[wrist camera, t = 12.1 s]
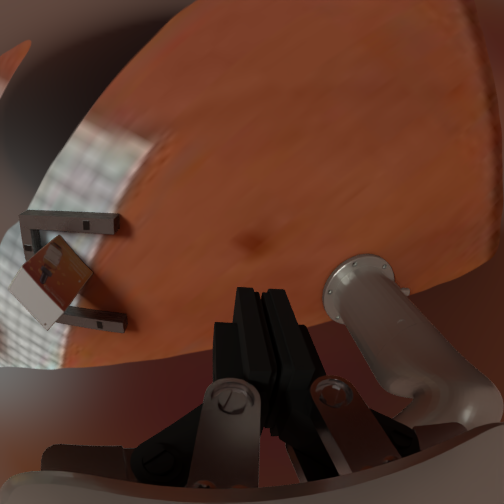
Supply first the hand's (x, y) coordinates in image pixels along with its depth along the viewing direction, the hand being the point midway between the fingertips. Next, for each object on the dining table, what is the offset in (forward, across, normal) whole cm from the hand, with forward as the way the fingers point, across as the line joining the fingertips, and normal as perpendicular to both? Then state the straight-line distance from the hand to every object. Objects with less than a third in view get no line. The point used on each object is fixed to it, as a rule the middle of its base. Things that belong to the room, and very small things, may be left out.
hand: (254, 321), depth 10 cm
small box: (+27, +23, +13) cm, 38 cm away
